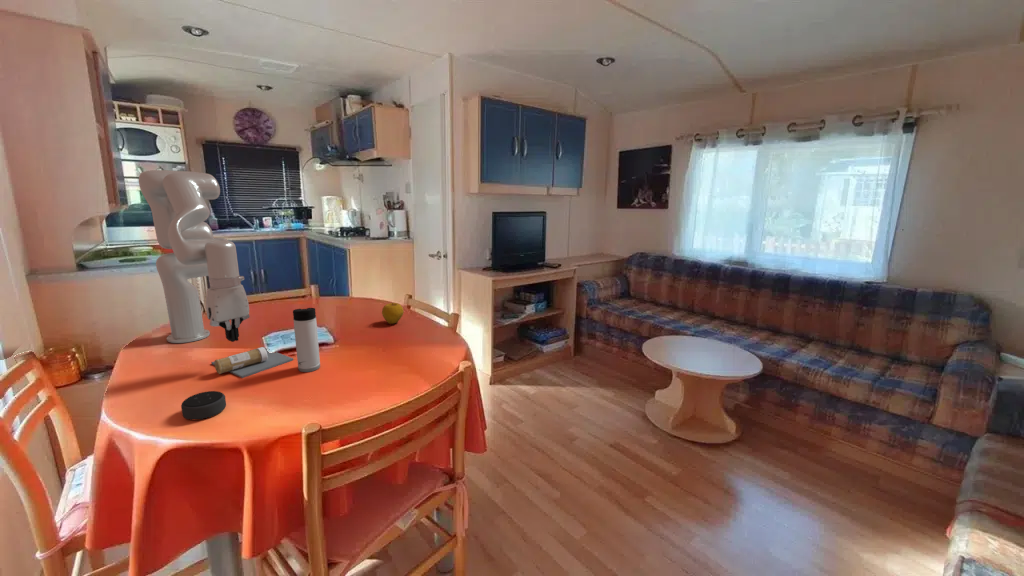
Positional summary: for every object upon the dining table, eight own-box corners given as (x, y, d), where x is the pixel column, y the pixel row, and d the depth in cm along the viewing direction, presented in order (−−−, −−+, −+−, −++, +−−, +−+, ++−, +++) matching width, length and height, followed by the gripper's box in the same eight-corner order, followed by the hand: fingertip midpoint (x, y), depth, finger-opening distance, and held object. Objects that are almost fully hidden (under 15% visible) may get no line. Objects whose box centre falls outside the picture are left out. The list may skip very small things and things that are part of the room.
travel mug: (298, 374, 126) (292, 311, 121) (298, 366, 131) (292, 306, 127) (320, 370, 129) (315, 309, 124) (319, 362, 134) (314, 304, 130)
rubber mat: (211, 364, 131) (211, 362, 131) (262, 348, 144) (262, 346, 144) (242, 378, 122) (242, 376, 122) (293, 360, 136) (293, 358, 136)
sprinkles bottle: (220, 377, 122) (268, 362, 133) (218, 363, 121) (267, 350, 131) (214, 370, 125) (262, 356, 135) (213, 357, 123) (261, 344, 134)
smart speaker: (212, 421, 100) (210, 407, 99) (173, 422, 99) (171, 407, 98) (234, 403, 108) (232, 389, 108) (198, 403, 108) (196, 389, 107)
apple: (400, 326, 171) (399, 306, 169) (379, 326, 171) (378, 305, 169) (406, 320, 180) (405, 300, 178) (386, 319, 180) (385, 299, 178)
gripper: (244, 276, 131) (251, 331, 135) (190, 285, 118) (199, 345, 123) (257, 280, 127) (264, 335, 132) (202, 289, 115) (212, 350, 119)
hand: (233, 340), depth 127 cm, fingers closed
